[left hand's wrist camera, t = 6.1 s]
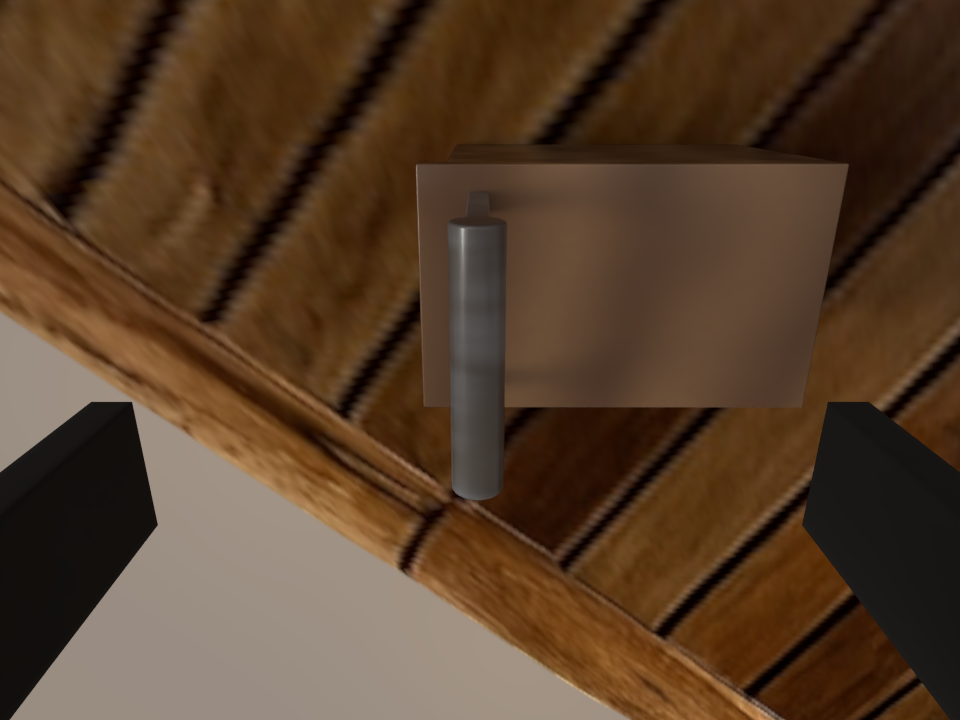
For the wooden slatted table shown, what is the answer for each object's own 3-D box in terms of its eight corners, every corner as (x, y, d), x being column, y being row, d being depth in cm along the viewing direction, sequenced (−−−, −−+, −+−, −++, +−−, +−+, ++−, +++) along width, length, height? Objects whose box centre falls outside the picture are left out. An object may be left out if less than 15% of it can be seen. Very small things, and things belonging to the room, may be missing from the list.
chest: (458, 322, 36) (450, 397, 27) (455, 144, 32) (445, 161, 23) (712, 322, 36) (792, 397, 27) (736, 144, 32) (836, 161, 23)
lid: (425, 397, 27) (401, 524, 19) (417, 161, 23) (384, 192, 15) (792, 398, 27) (925, 525, 19) (837, 161, 23) (1021, 192, 15)
